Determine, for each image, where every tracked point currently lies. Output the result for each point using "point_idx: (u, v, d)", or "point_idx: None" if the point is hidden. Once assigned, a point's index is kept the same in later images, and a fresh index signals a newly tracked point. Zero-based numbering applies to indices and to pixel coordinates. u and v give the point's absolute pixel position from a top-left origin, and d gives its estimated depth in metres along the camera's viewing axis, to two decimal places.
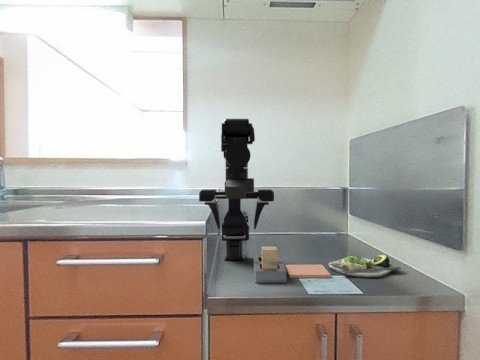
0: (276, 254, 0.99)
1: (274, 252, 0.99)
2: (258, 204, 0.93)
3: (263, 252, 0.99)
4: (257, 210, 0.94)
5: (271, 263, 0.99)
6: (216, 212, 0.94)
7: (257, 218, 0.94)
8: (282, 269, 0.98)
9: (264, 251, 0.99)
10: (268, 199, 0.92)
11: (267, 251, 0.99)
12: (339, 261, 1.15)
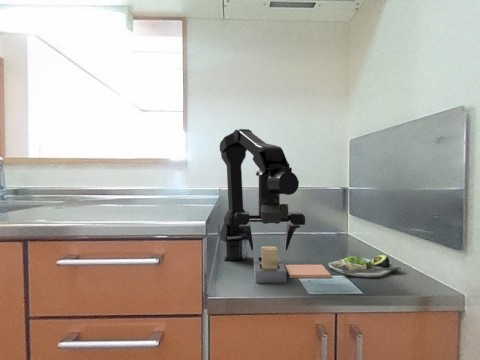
0: (276, 254, 0.99)
1: (274, 252, 0.99)
2: (290, 227, 0.98)
3: (263, 252, 0.99)
4: (289, 233, 0.99)
5: (271, 263, 0.99)
6: (250, 235, 1.00)
7: (289, 240, 1.00)
8: (282, 269, 0.98)
9: (264, 251, 0.99)
10: (300, 223, 0.98)
11: (267, 251, 0.99)
12: (339, 261, 1.15)
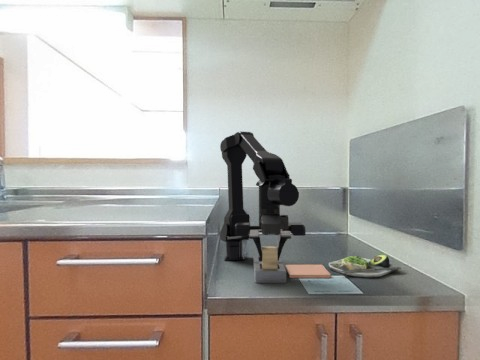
0: (276, 254, 0.99)
1: (274, 252, 0.99)
2: (281, 238, 0.98)
3: (263, 252, 0.99)
4: (280, 243, 0.99)
5: (271, 263, 0.99)
6: (259, 245, 1.00)
7: (280, 251, 1.00)
8: (282, 269, 0.98)
9: (264, 251, 0.99)
10: (300, 233, 0.98)
11: (267, 251, 0.99)
12: (339, 261, 1.15)
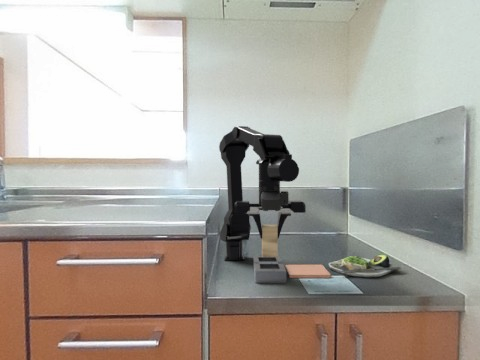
0: (276, 231, 0.99)
1: (274, 229, 0.99)
2: (281, 215, 0.98)
3: (263, 229, 0.99)
4: (280, 221, 0.99)
5: (271, 241, 0.99)
6: (259, 223, 0.99)
7: (280, 228, 1.00)
8: (282, 269, 0.98)
9: (264, 228, 0.99)
10: (300, 210, 0.98)
11: (267, 228, 0.99)
12: (339, 261, 1.15)
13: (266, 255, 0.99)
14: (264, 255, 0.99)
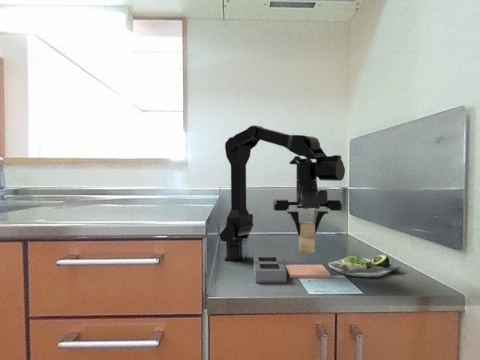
0: (314, 228, 1.04)
1: (312, 226, 1.04)
2: (319, 213, 1.03)
3: (301, 226, 1.04)
4: (317, 218, 1.04)
5: (309, 237, 1.04)
6: (297, 220, 1.04)
7: (317, 225, 1.05)
8: (282, 269, 0.98)
9: (302, 225, 1.04)
10: (337, 208, 1.02)
11: (305, 225, 1.04)
12: (339, 261, 1.15)
13: (304, 251, 1.04)
14: (302, 251, 1.04)
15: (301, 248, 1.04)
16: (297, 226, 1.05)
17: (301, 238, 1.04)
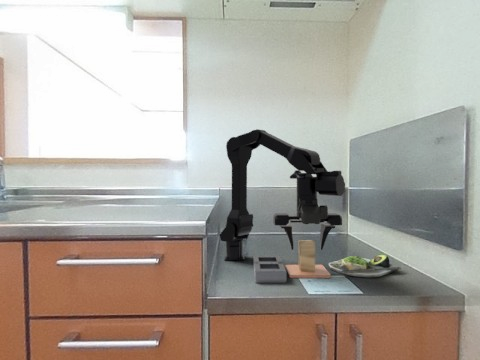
0: (314, 247, 1.04)
1: (312, 245, 1.04)
2: (326, 228, 1.03)
3: (301, 245, 1.04)
4: (324, 233, 1.04)
5: (309, 256, 1.04)
6: (291, 235, 1.05)
7: (324, 240, 1.05)
8: (282, 269, 0.98)
9: (302, 244, 1.04)
10: (337, 223, 1.03)
11: (305, 244, 1.04)
12: (339, 261, 1.15)
13: (304, 269, 1.04)
14: (302, 269, 1.04)
15: (301, 267, 1.04)
16: (290, 240, 1.05)
17: (301, 257, 1.04)
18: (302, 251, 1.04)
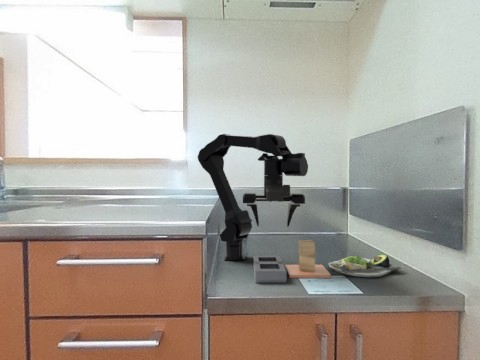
0: (314, 247, 1.04)
1: (312, 245, 1.04)
2: (292, 206, 1.12)
3: (301, 245, 1.04)
4: (290, 211, 1.13)
5: (309, 256, 1.04)
6: (256, 212, 1.13)
7: (290, 217, 1.13)
8: (282, 269, 0.98)
9: (302, 244, 1.04)
10: (300, 202, 1.11)
11: (305, 244, 1.04)
12: (339, 261, 1.15)
13: (304, 269, 1.04)
14: (302, 269, 1.04)
15: (301, 267, 1.04)
16: (256, 218, 1.14)
17: (301, 257, 1.04)
18: (302, 251, 1.04)
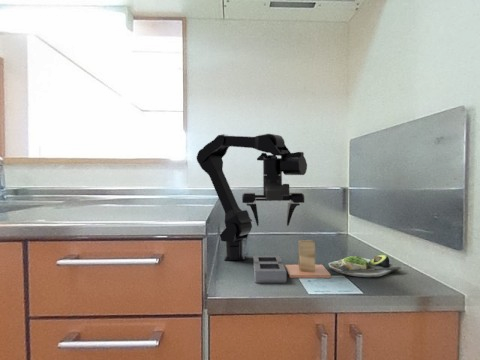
0: (314, 247, 1.04)
1: (312, 245, 1.04)
2: (291, 205, 1.12)
3: (301, 245, 1.04)
4: (290, 210, 1.13)
5: (309, 256, 1.04)
6: (256, 212, 1.13)
7: (290, 217, 1.14)
8: (282, 269, 0.98)
9: (302, 244, 1.04)
10: (299, 201, 1.11)
11: (305, 244, 1.04)
12: (339, 261, 1.15)
13: (304, 269, 1.04)
14: (302, 269, 1.04)
15: (301, 267, 1.04)
16: (256, 217, 1.14)
17: (301, 257, 1.04)
18: (302, 251, 1.04)
